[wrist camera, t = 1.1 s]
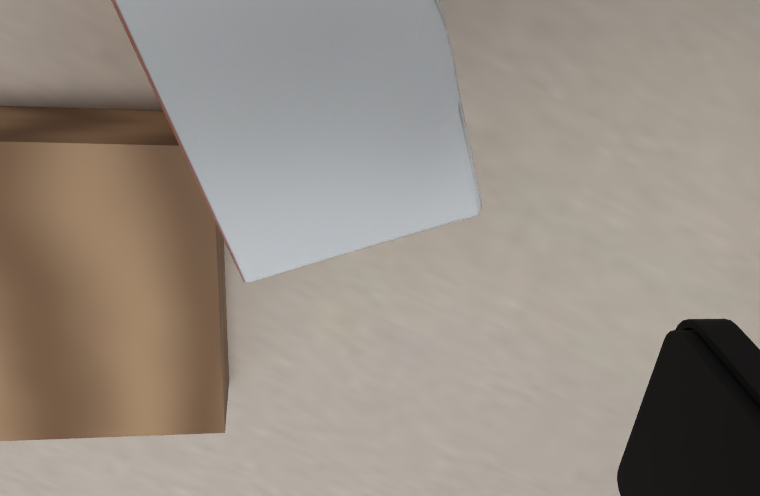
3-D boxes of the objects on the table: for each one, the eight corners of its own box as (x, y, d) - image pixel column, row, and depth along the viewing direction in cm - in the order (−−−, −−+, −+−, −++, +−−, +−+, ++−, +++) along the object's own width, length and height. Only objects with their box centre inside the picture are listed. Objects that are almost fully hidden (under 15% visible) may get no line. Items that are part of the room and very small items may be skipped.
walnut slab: (219, 109, 28) (212, 146, 25) (229, 375, 35) (224, 432, 32) (-162, 97, 26) (-226, 136, 23) (-71, 382, 33) (-111, 445, 30)
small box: (170, -104, 24) (81, -49, 13) (346, -162, 24) (411, -156, 13) (254, 111, 28) (243, 292, 17) (405, 64, 28) (492, 215, 17)
